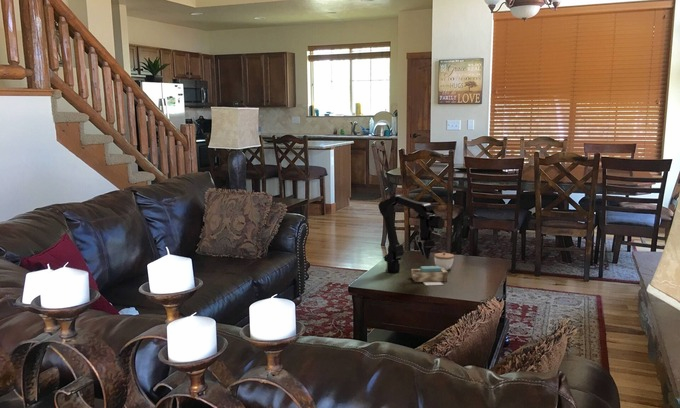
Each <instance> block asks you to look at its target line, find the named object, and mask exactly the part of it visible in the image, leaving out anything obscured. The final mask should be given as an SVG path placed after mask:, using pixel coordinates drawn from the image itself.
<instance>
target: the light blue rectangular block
mask: <svg viewBox="0 0 680 408" xmlns="http://www.w3.org/2000/svg"><path fill="white" fill-rule="evenodd" d="M419 269H420V273H421V272H441V267H440V266H436V265H428V266H427V265H424V266H420V267H419Z"/></svg>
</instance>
